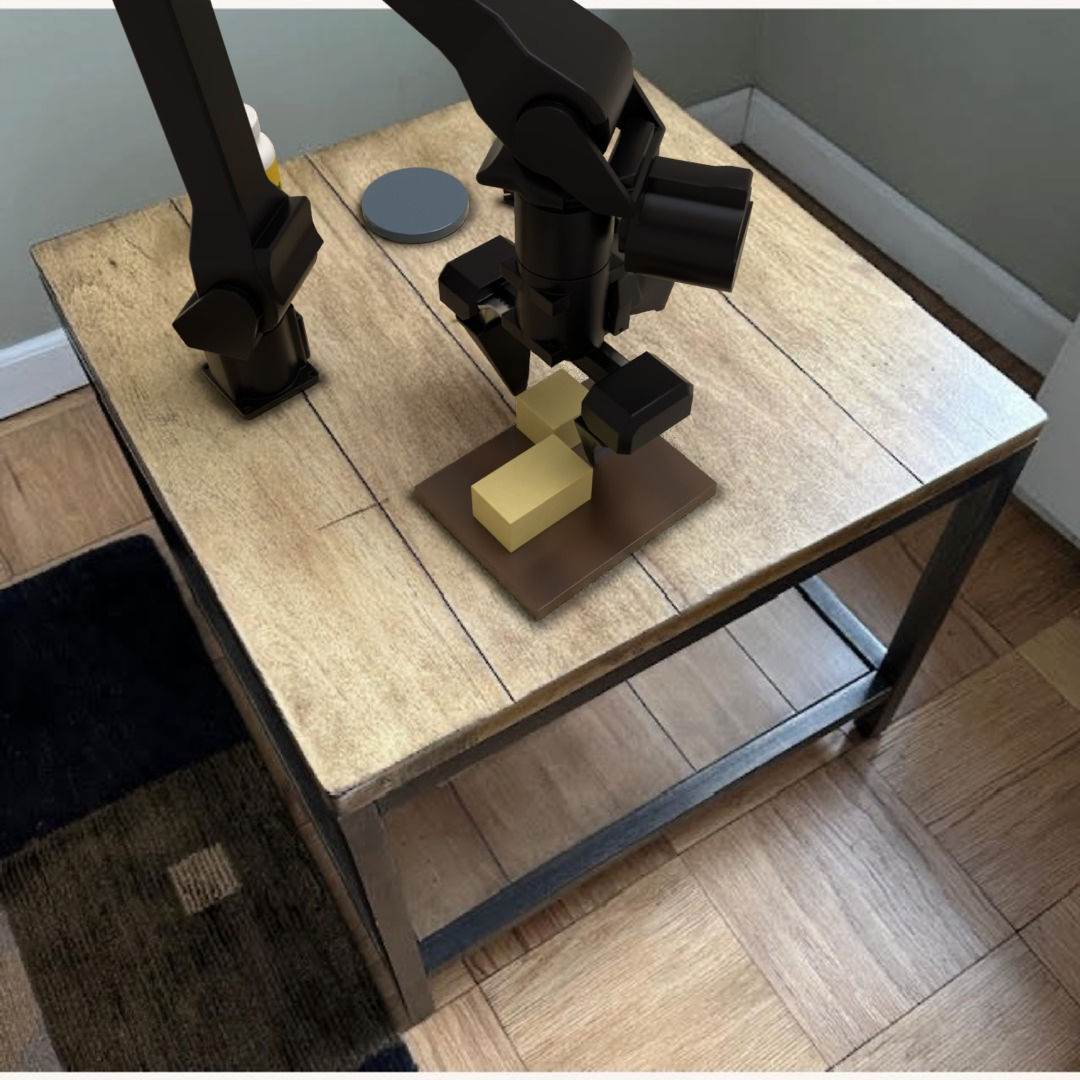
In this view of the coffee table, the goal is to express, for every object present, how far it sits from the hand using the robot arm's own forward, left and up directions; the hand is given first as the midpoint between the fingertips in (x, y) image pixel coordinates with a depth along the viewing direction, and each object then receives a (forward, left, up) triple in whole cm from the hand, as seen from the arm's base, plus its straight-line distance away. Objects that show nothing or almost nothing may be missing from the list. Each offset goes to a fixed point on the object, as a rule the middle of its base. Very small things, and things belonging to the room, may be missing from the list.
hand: (557, 426), depth 77 cm
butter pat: (0, 0, 0) cm, 1 cm away
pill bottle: (-5, +33, -2) cm, 33 cm away
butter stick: (-6, -4, 0) cm, 7 cm away
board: (-3, -4, -2) cm, 5 cm away
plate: (+8, +28, -2) cm, 29 cm away
